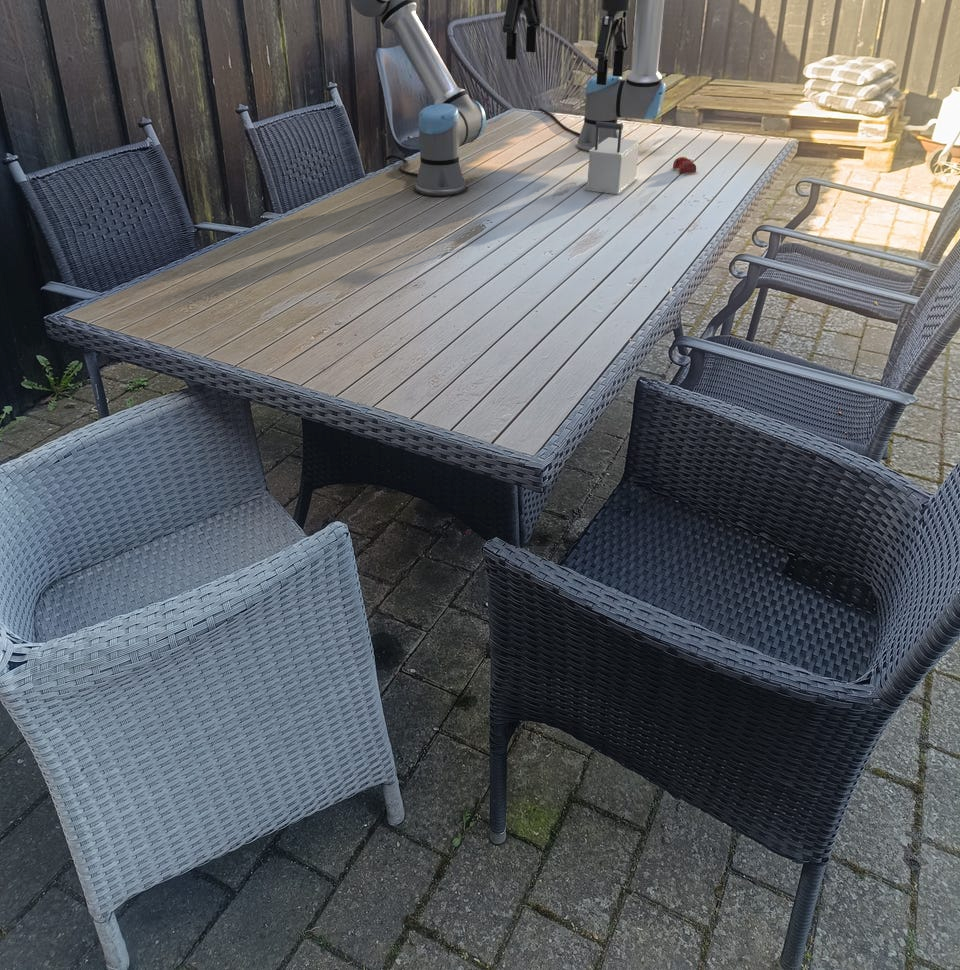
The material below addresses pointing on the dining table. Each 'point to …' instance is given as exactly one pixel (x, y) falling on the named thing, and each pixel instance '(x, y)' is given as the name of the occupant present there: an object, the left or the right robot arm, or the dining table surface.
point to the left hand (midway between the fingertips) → (521, 55)
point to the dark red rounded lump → (684, 165)
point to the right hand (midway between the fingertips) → (609, 80)
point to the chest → (612, 172)
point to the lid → (612, 142)
